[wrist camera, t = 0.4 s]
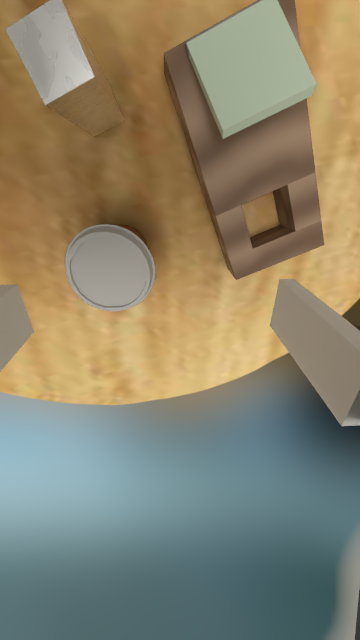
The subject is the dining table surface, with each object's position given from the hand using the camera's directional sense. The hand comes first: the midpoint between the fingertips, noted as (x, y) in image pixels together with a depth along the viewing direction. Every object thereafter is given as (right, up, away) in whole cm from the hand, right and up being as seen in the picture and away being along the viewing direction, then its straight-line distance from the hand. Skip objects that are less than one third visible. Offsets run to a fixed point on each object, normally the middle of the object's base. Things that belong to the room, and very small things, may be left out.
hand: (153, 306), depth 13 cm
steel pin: (-8, +24, +16) cm, 29 cm away
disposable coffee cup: (-7, +10, +24) cm, 26 cm away
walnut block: (+10, +19, +19) cm, 29 cm away
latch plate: (+7, +21, +9) cm, 24 cm away
